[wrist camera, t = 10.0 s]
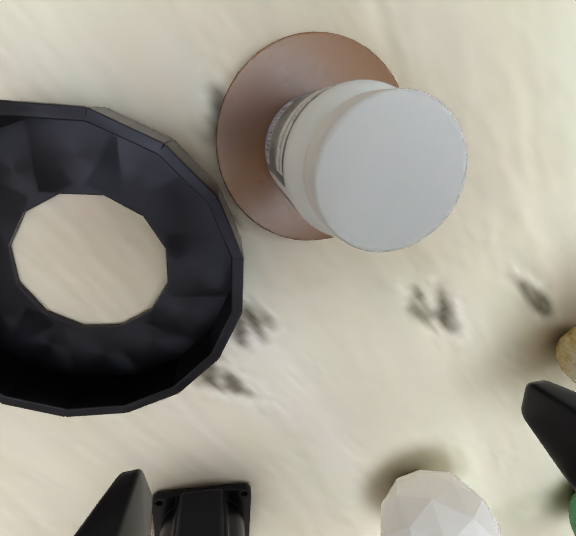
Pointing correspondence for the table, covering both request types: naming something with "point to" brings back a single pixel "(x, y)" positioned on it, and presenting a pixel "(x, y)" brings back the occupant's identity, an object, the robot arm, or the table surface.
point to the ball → (435, 507)
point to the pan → (169, 229)
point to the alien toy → (573, 513)
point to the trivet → (263, 108)
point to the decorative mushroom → (567, 353)
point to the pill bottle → (368, 162)
